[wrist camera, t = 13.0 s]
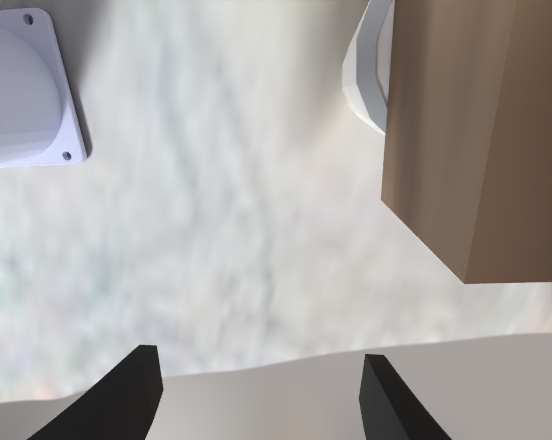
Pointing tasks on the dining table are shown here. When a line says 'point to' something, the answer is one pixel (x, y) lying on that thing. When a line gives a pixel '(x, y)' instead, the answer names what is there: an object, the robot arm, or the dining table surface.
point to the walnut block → (473, 134)
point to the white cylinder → (370, 64)
